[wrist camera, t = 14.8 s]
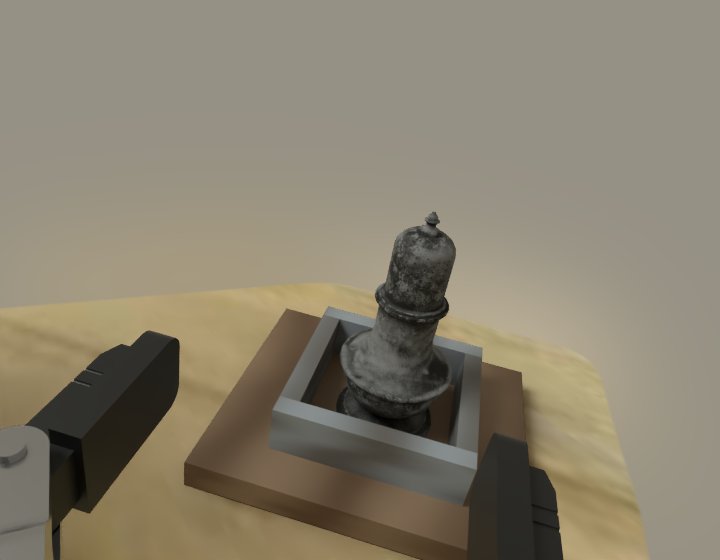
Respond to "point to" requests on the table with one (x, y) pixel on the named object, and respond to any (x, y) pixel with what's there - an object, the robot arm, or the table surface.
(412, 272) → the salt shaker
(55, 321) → the table surface
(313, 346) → the socket stand
